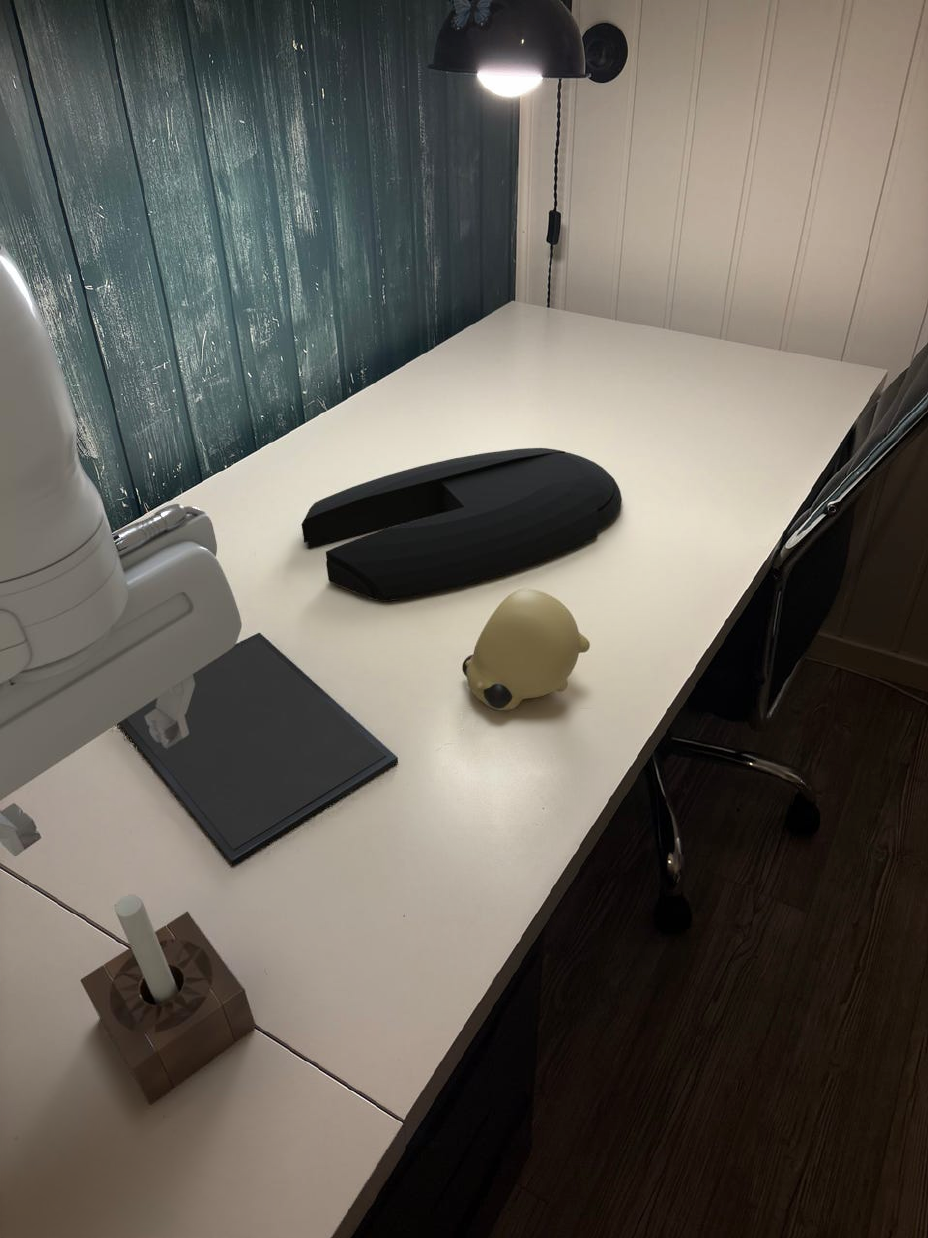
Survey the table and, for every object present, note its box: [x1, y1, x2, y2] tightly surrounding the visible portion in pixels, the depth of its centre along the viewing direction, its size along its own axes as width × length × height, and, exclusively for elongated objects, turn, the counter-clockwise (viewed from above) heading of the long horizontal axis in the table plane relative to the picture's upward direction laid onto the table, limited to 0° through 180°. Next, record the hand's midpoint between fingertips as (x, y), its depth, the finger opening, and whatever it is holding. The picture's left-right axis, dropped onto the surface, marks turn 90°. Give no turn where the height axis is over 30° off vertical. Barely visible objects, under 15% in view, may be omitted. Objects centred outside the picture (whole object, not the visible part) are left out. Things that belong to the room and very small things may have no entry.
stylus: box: [114, 893, 179, 1005], centre depth 60 cm, size 2×2×14 cm
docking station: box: [301, 447, 623, 602], centre depth 113 cm, size 25×41×5 cm, turn 116°
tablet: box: [117, 632, 399, 867], centre depth 86 cm, size 17×24×1 cm
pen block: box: [80, 911, 257, 1106], centre depth 63 cm, size 8×8×5 cm
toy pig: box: [461, 588, 591, 711], centre depth 88 cm, size 10×12×11 cm
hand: (100, 787), depth 50 cm, fingers open, 8 cm apart
